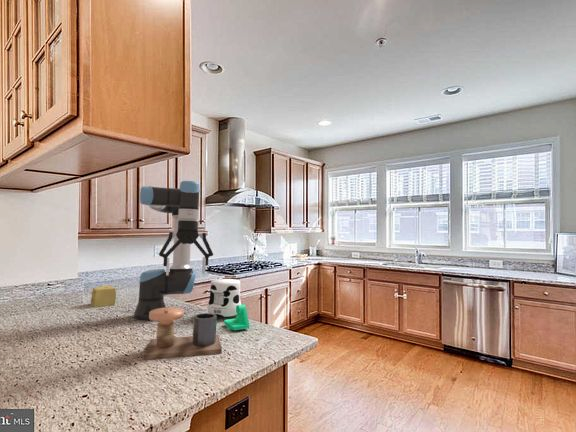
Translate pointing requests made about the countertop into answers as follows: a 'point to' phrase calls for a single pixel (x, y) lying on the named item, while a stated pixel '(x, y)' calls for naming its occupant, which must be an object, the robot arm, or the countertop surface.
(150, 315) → the domed pot lid
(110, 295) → the cheese
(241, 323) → the camera mount
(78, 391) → the countertop surface
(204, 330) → the tube
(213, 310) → the milk container
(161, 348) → the brown board with post
